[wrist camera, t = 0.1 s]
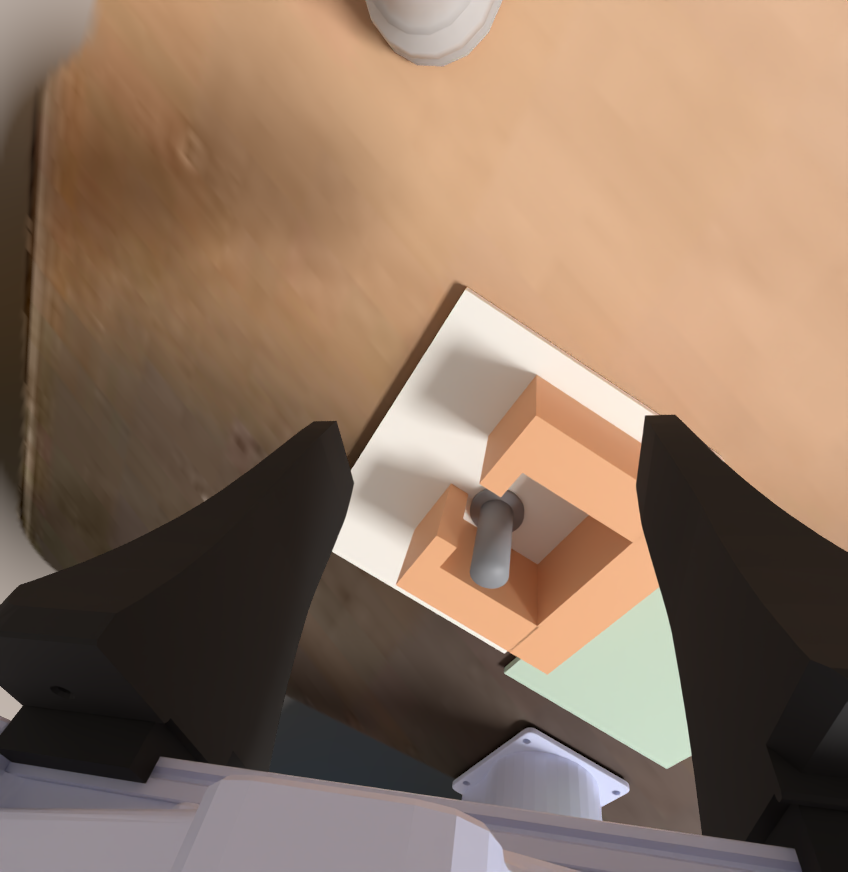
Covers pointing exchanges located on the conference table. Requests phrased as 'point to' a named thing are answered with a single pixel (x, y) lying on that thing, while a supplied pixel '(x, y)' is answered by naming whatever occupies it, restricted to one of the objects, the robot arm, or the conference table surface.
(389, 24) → the rook chess piece
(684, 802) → the conference table surface
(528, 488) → the stand
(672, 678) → the mat
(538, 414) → the c link
